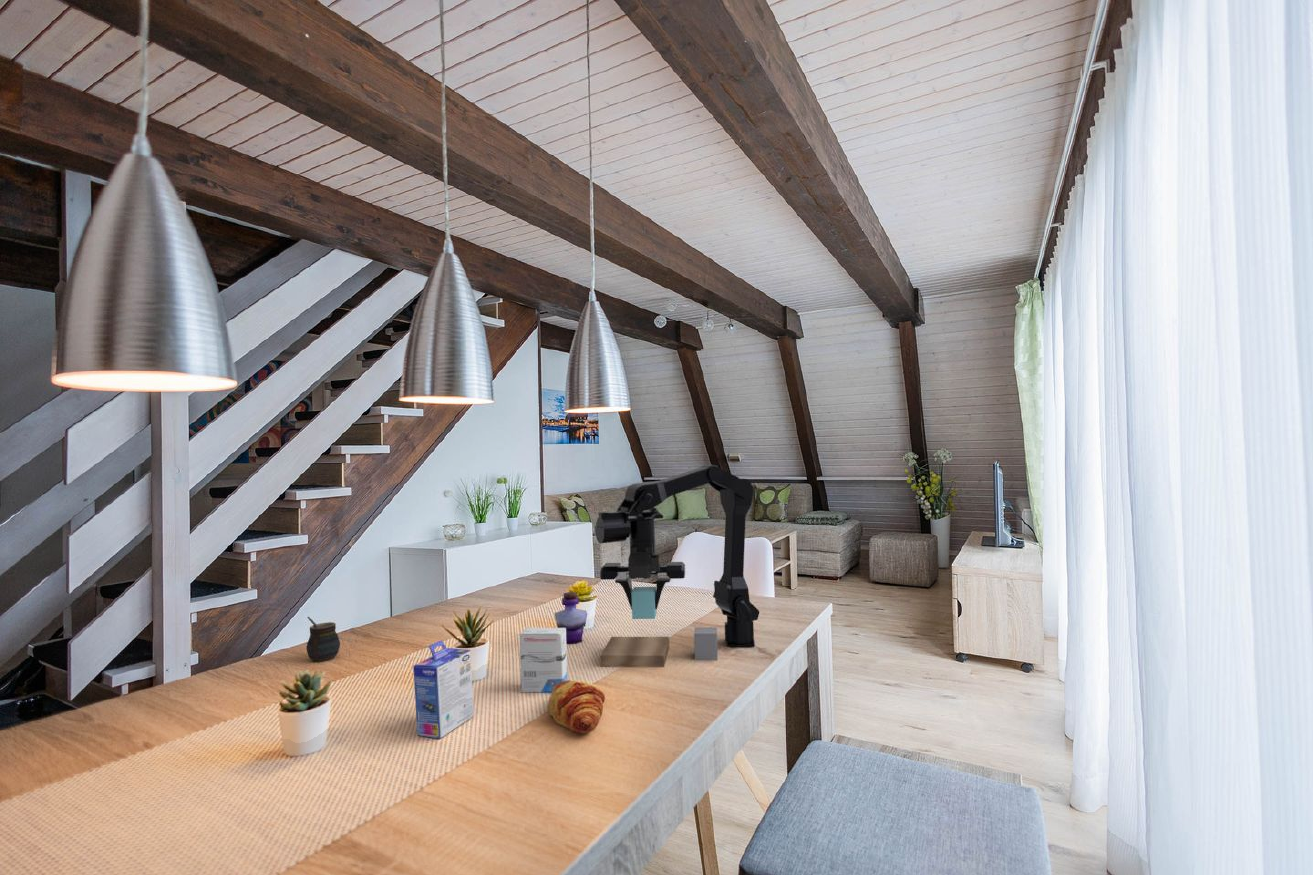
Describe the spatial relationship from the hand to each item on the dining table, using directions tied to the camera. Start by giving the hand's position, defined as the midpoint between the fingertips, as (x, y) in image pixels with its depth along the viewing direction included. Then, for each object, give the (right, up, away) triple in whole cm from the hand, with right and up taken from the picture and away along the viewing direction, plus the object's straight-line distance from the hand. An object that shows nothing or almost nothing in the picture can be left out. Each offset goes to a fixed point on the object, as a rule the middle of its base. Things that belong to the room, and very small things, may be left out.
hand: (644, 608), depth 148 cm
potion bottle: (-19, -13, +17) cm, 28 cm away
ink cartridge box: (-34, -13, -32) cm, 49 cm away
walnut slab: (-2, -12, +3) cm, 13 cm away
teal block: (0, -2, 0) cm, 2 cm away
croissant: (-12, -12, -29) cm, 34 cm away
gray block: (+14, -11, +1) cm, 18 cm away
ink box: (-20, -12, -15) cm, 28 cm away
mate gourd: (-77, -14, +8) cm, 78 cm away
